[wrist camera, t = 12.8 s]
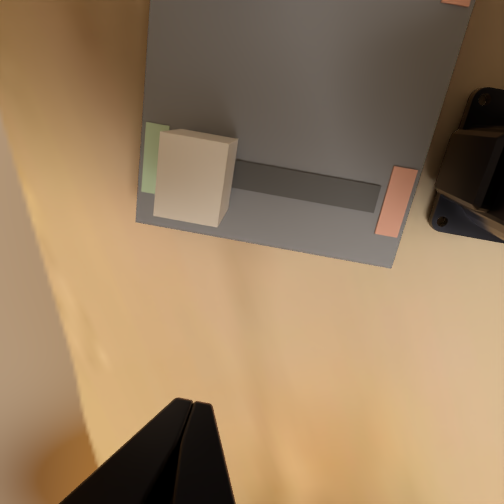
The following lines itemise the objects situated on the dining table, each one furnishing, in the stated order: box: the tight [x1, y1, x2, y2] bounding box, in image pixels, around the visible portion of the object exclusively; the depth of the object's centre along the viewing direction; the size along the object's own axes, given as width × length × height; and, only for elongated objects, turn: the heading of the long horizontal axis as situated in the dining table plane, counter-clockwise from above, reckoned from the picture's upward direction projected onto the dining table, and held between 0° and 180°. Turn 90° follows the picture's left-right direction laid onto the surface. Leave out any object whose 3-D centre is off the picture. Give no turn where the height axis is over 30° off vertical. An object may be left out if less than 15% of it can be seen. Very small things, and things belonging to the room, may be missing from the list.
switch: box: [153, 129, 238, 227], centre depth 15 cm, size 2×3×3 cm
